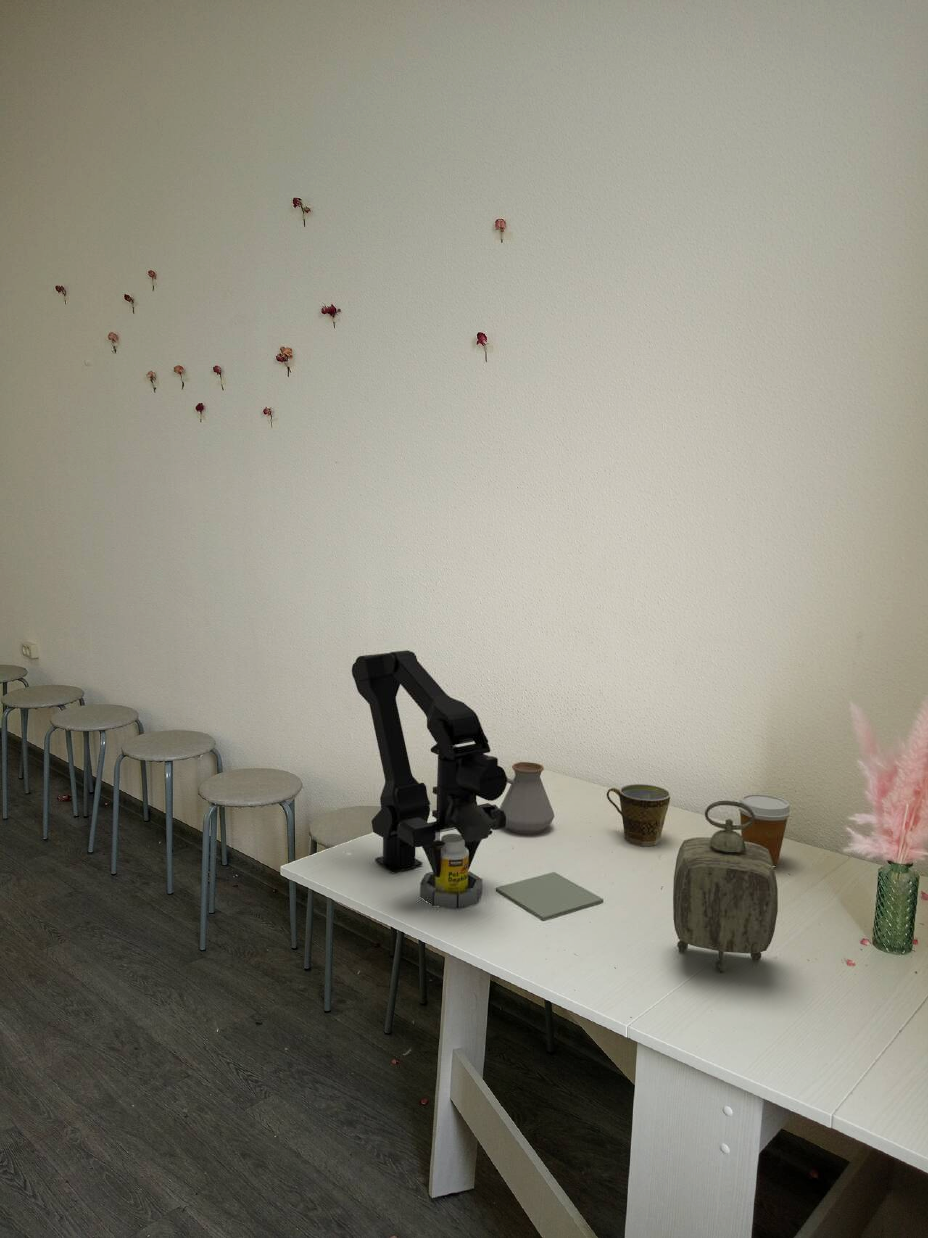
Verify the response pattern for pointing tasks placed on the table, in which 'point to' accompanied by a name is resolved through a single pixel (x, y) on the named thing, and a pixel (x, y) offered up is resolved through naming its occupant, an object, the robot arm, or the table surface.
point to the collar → (451, 893)
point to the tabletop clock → (725, 892)
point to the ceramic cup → (642, 812)
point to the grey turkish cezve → (527, 800)
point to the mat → (549, 895)
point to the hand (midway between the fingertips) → (451, 872)
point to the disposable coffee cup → (765, 822)
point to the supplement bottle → (453, 864)
